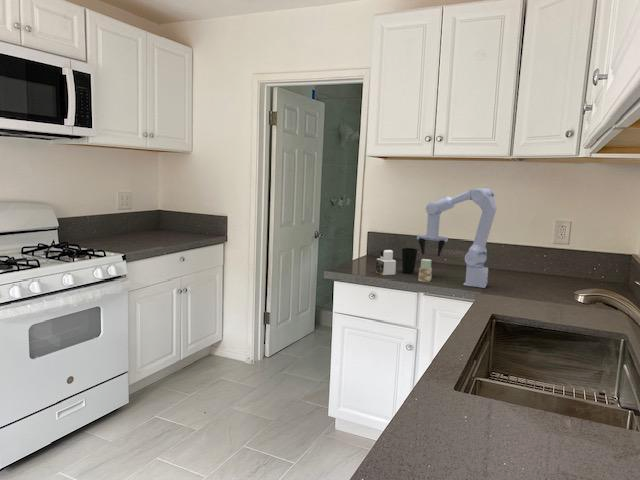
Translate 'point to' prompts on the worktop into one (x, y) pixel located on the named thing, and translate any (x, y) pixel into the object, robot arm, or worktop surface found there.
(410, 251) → the cup
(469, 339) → the worktop surface
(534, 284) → the worktop surface
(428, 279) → the lower slab
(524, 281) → the worktop surface
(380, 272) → the medicine bottle
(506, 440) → the worktop surface
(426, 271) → the upper slab
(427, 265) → the green cube
